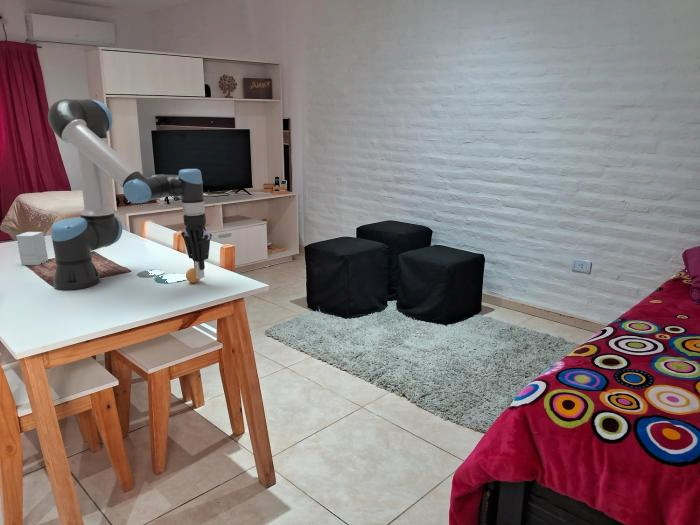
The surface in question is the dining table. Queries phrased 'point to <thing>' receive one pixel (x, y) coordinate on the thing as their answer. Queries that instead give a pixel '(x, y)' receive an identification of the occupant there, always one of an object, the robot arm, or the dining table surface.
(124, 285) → the dining table surface
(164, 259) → the dining table surface
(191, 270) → the ball
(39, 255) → the supplement box
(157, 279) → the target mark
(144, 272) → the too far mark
